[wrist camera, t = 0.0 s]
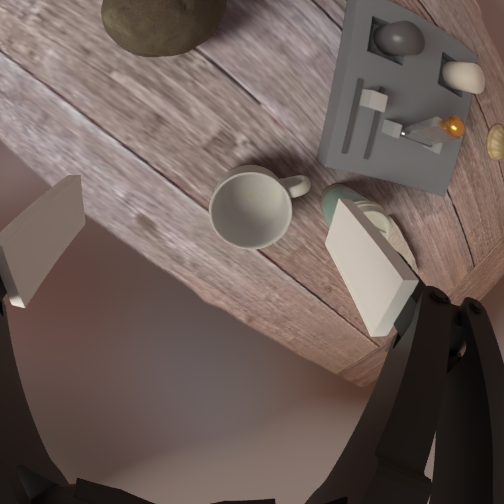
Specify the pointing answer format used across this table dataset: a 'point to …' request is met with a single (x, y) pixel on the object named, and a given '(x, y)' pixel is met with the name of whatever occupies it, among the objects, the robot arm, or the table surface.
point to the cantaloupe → (161, 24)
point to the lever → (435, 130)
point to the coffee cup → (367, 207)
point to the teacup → (254, 206)
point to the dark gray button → (399, 39)
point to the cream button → (464, 76)
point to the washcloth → (401, 244)
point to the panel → (392, 101)
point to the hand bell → (496, 142)
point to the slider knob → (373, 100)
